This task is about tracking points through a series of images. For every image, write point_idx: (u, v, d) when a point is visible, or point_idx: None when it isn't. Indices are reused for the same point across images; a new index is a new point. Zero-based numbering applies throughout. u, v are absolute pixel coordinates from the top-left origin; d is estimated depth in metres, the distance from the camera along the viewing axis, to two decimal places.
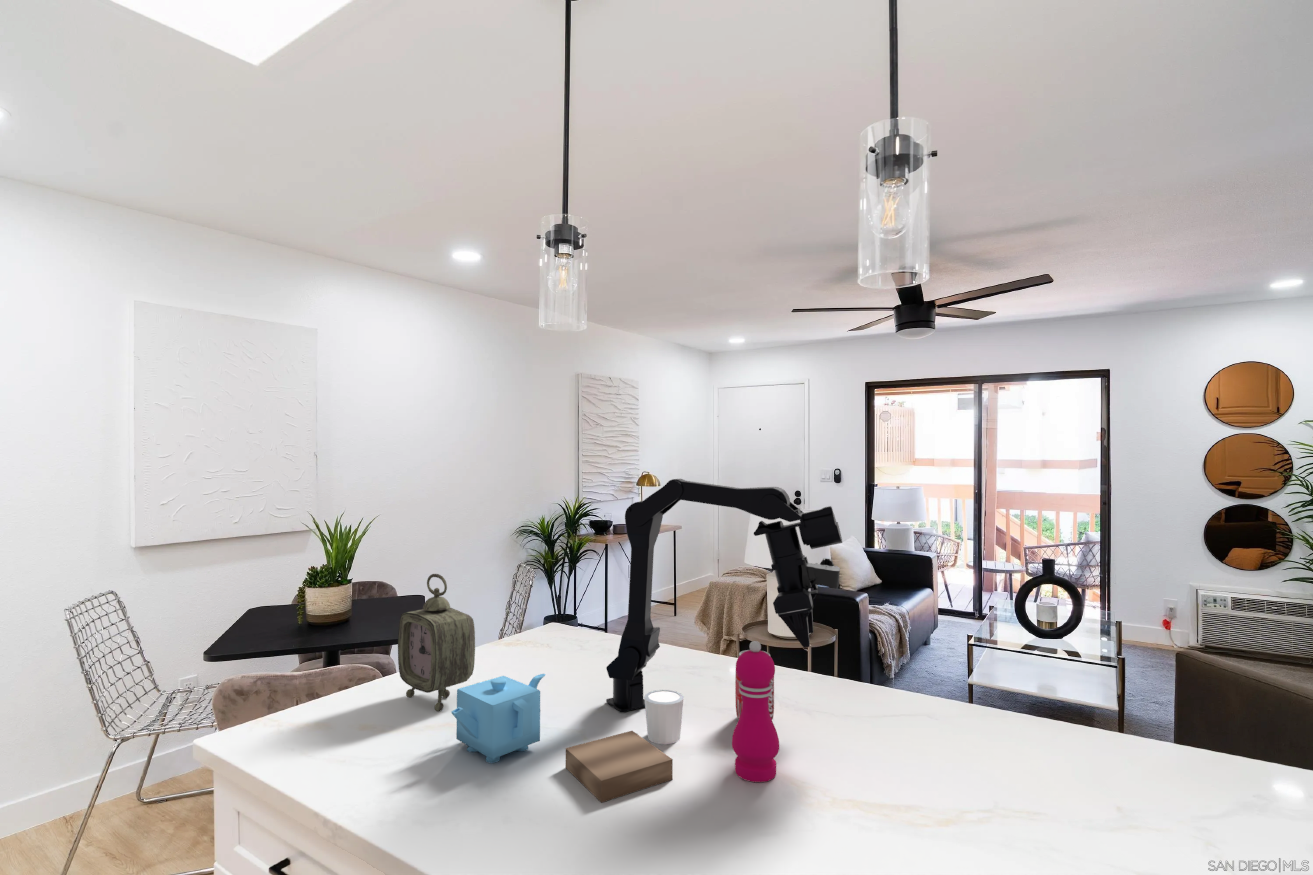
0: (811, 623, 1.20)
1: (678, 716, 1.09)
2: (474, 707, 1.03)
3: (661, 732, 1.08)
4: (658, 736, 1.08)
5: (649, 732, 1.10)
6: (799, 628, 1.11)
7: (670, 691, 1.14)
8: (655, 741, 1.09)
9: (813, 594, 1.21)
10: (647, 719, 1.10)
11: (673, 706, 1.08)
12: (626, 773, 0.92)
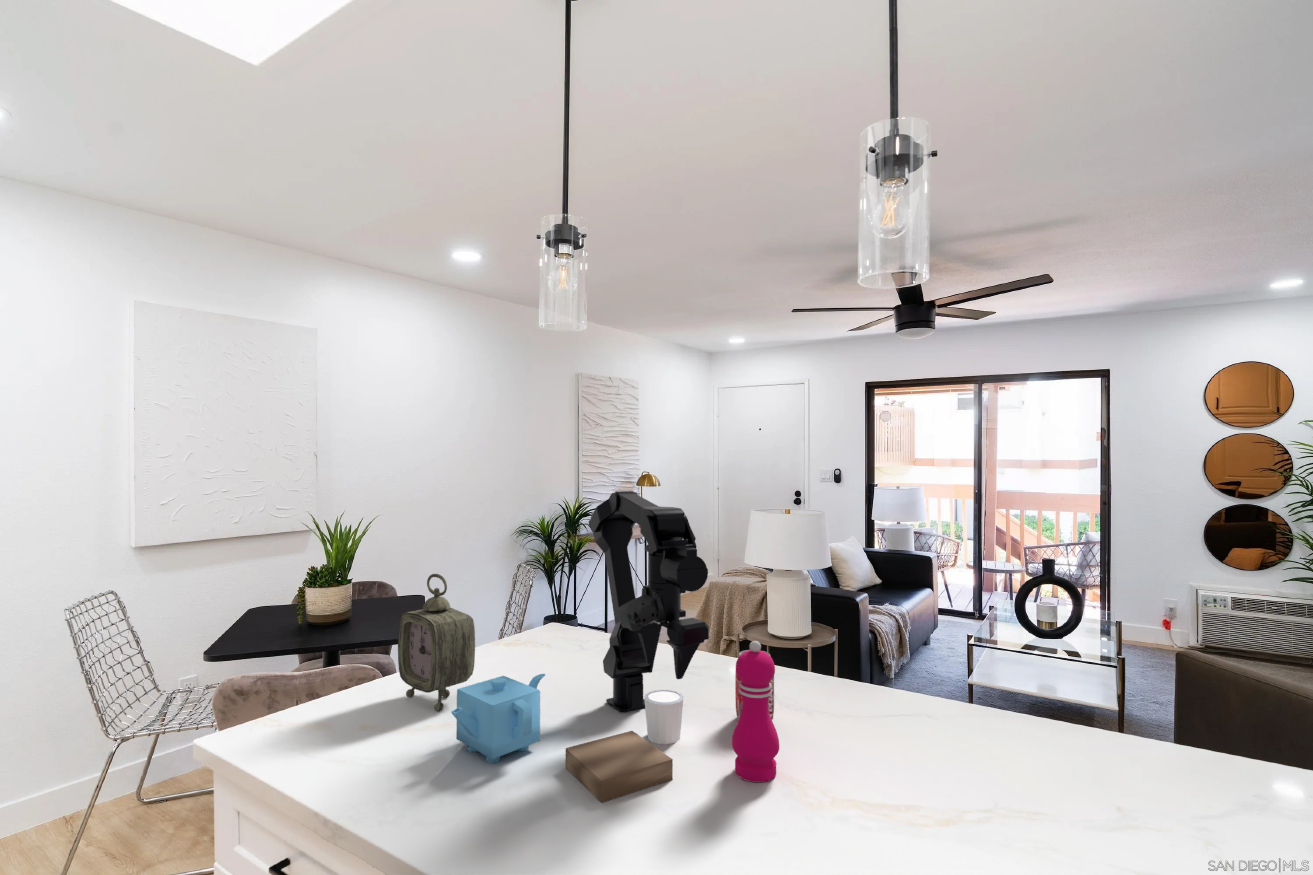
0: None
1: (678, 716, 1.09)
2: (474, 707, 1.03)
3: (661, 732, 1.08)
4: (658, 736, 1.08)
5: (649, 732, 1.10)
6: None
7: (670, 691, 1.14)
8: (655, 741, 1.09)
9: None
10: (647, 719, 1.10)
11: (673, 706, 1.08)
12: (626, 773, 0.92)
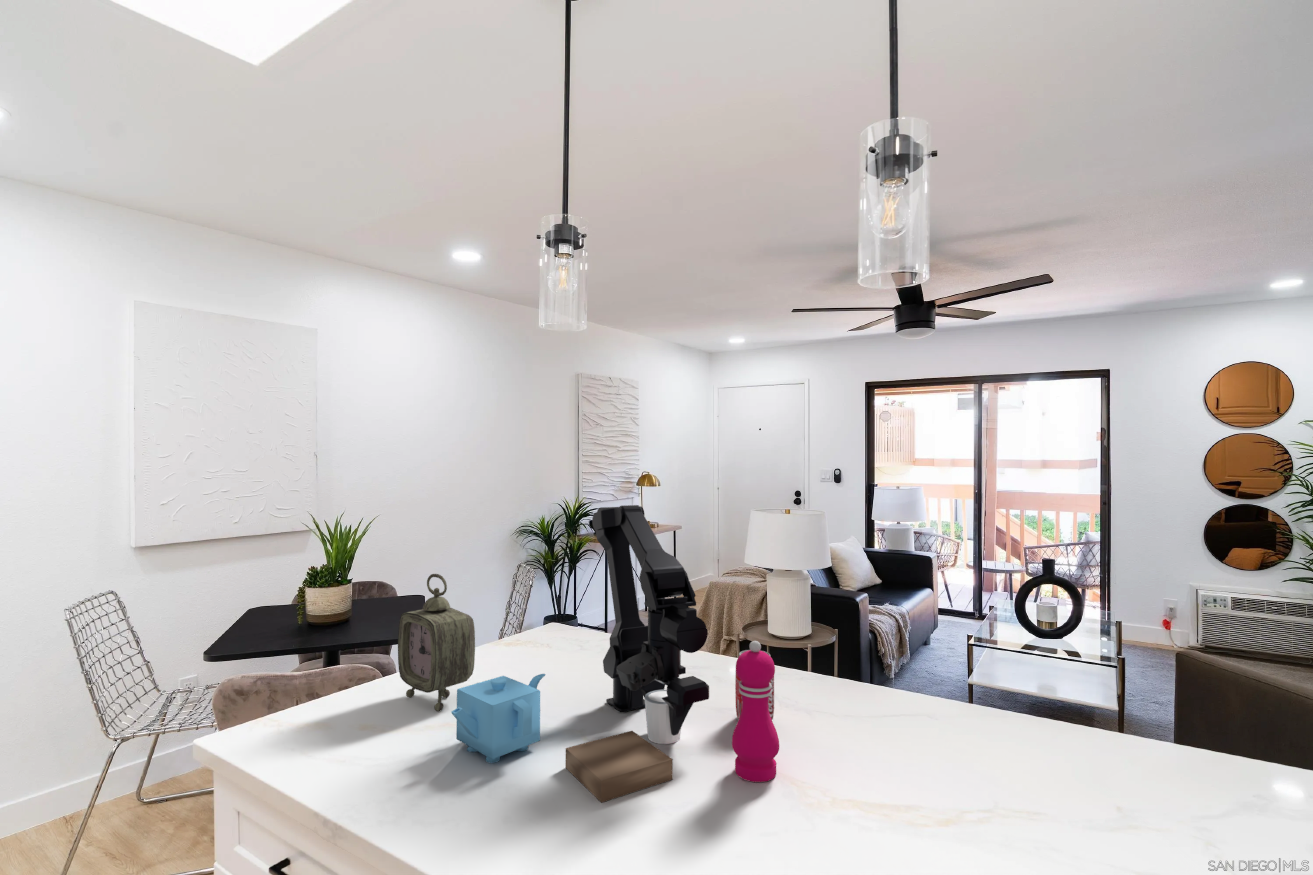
0: None
1: None
2: (474, 707, 1.03)
3: (661, 732, 1.08)
4: (658, 736, 1.08)
5: (649, 732, 1.10)
6: None
7: None
8: (655, 741, 1.09)
9: None
10: (647, 719, 1.10)
11: None
12: (626, 773, 0.92)
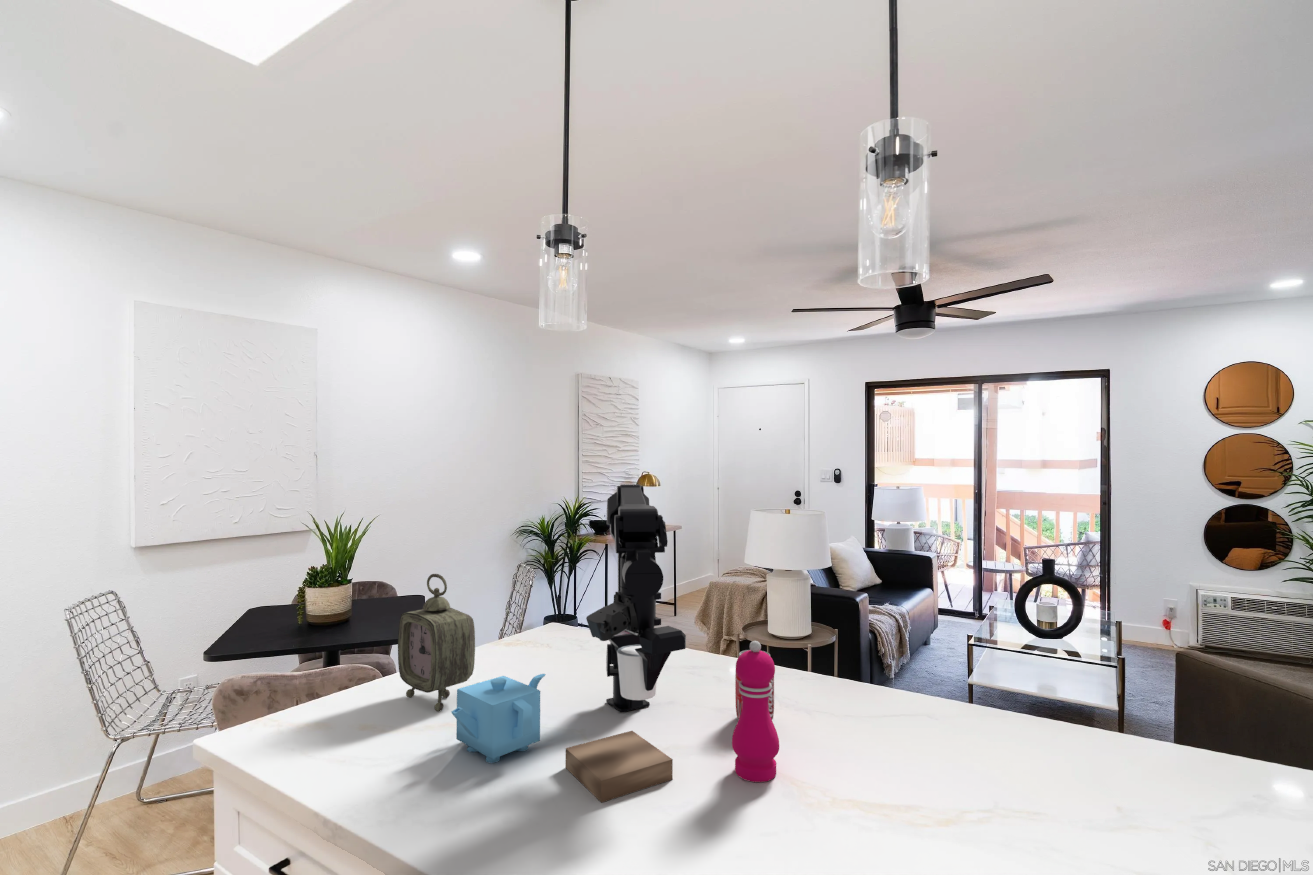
0: None
1: None
2: (474, 707, 1.03)
3: (635, 687, 1.00)
4: (631, 691, 1.00)
5: (622, 688, 1.01)
6: None
7: None
8: (628, 697, 1.01)
9: None
10: (620, 674, 1.02)
11: None
12: (626, 773, 0.92)
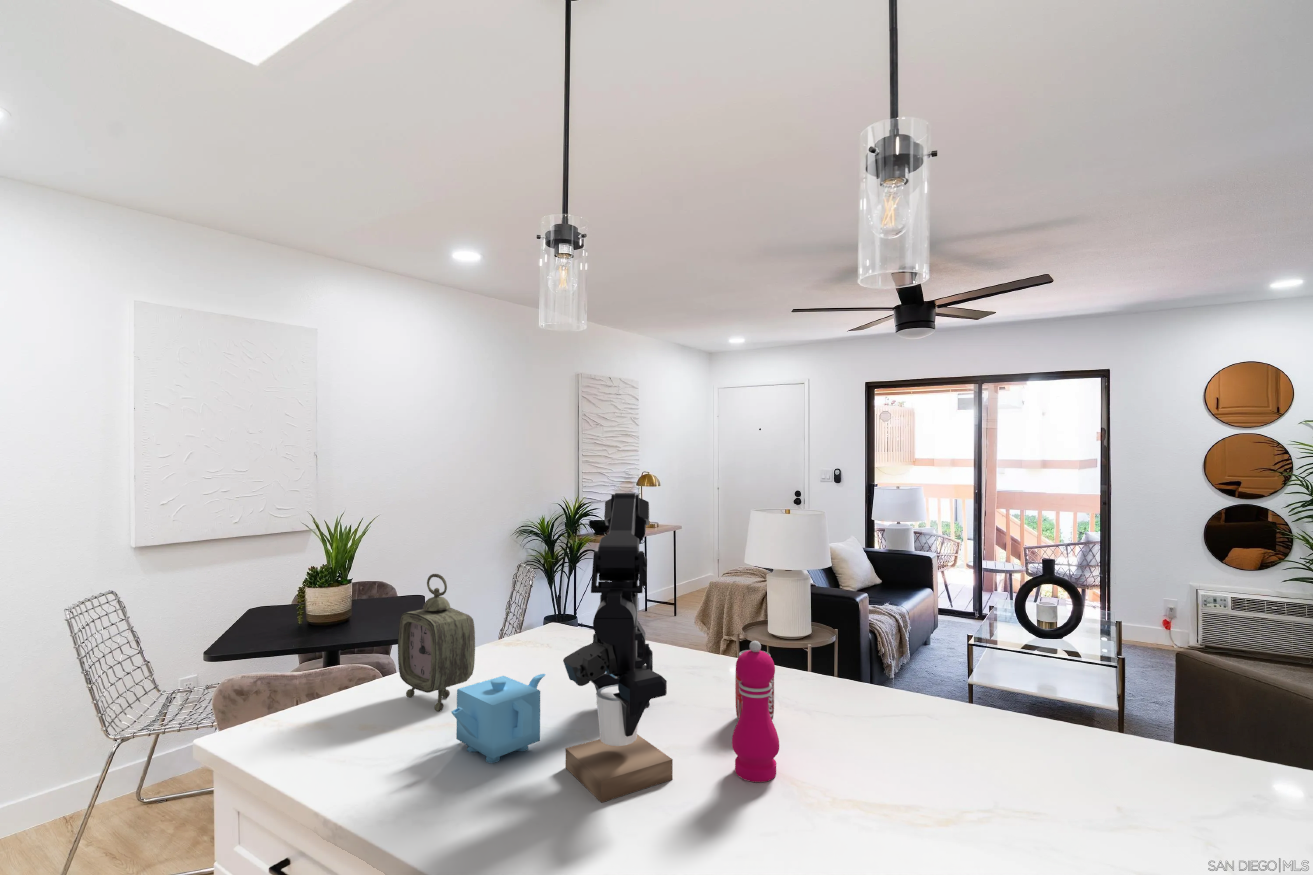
0: None
1: None
2: (474, 707, 1.03)
3: (614, 732, 0.96)
4: (610, 737, 0.96)
5: (601, 732, 0.97)
6: None
7: None
8: (607, 742, 0.96)
9: None
10: (599, 717, 0.97)
11: None
12: (626, 773, 0.92)
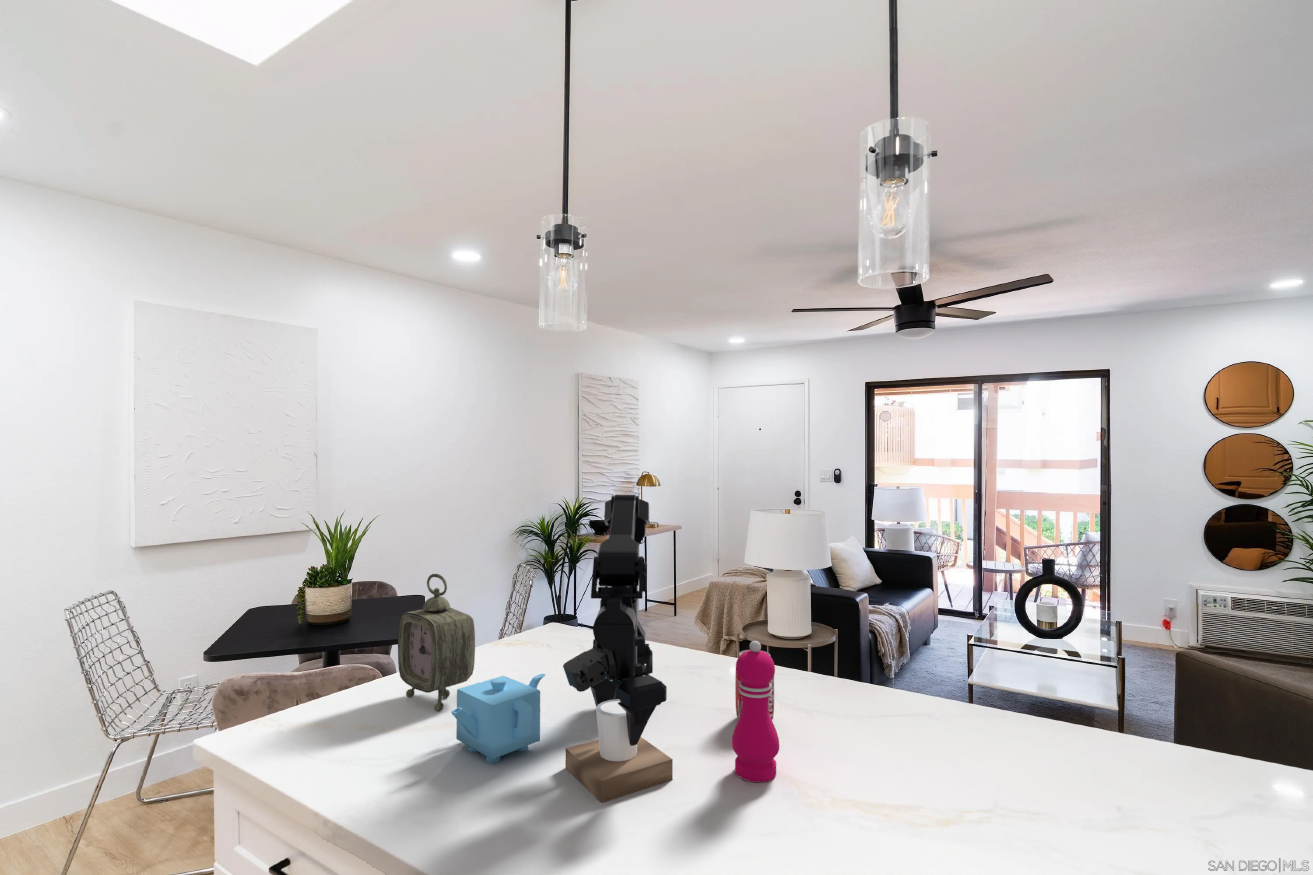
0: None
1: None
2: (474, 707, 1.03)
3: (613, 748, 0.96)
4: (610, 752, 0.96)
5: (601, 747, 0.97)
6: None
7: None
8: (607, 758, 0.96)
9: None
10: (599, 733, 0.97)
11: (626, 719, 0.96)
12: (626, 773, 0.92)
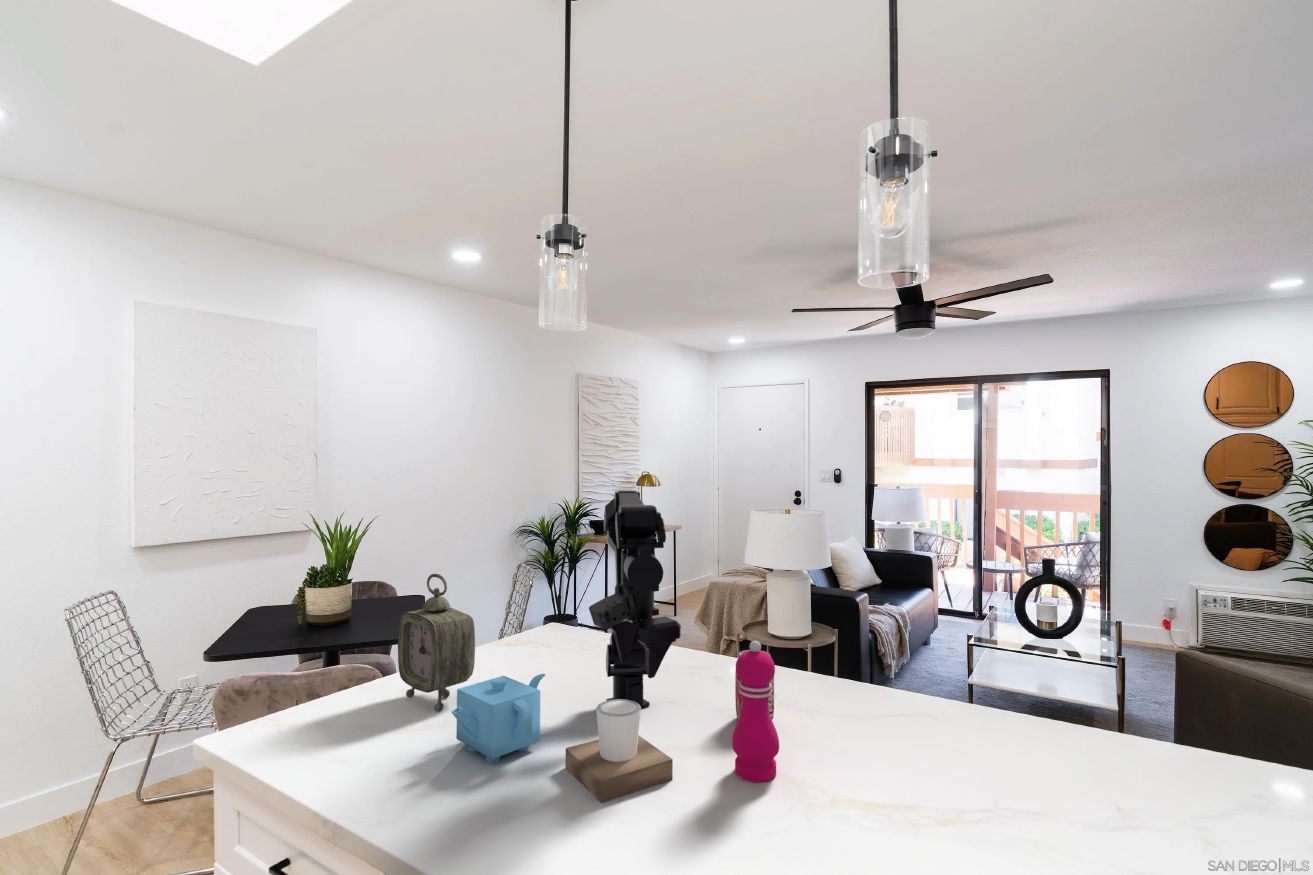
0: None
1: (633, 730, 0.96)
2: (474, 706, 1.03)
3: (613, 748, 0.95)
4: (610, 752, 0.96)
5: (601, 747, 0.97)
6: None
7: (627, 701, 1.01)
8: (607, 758, 0.96)
9: None
10: (599, 733, 0.97)
11: (627, 719, 0.95)
12: (626, 773, 0.92)
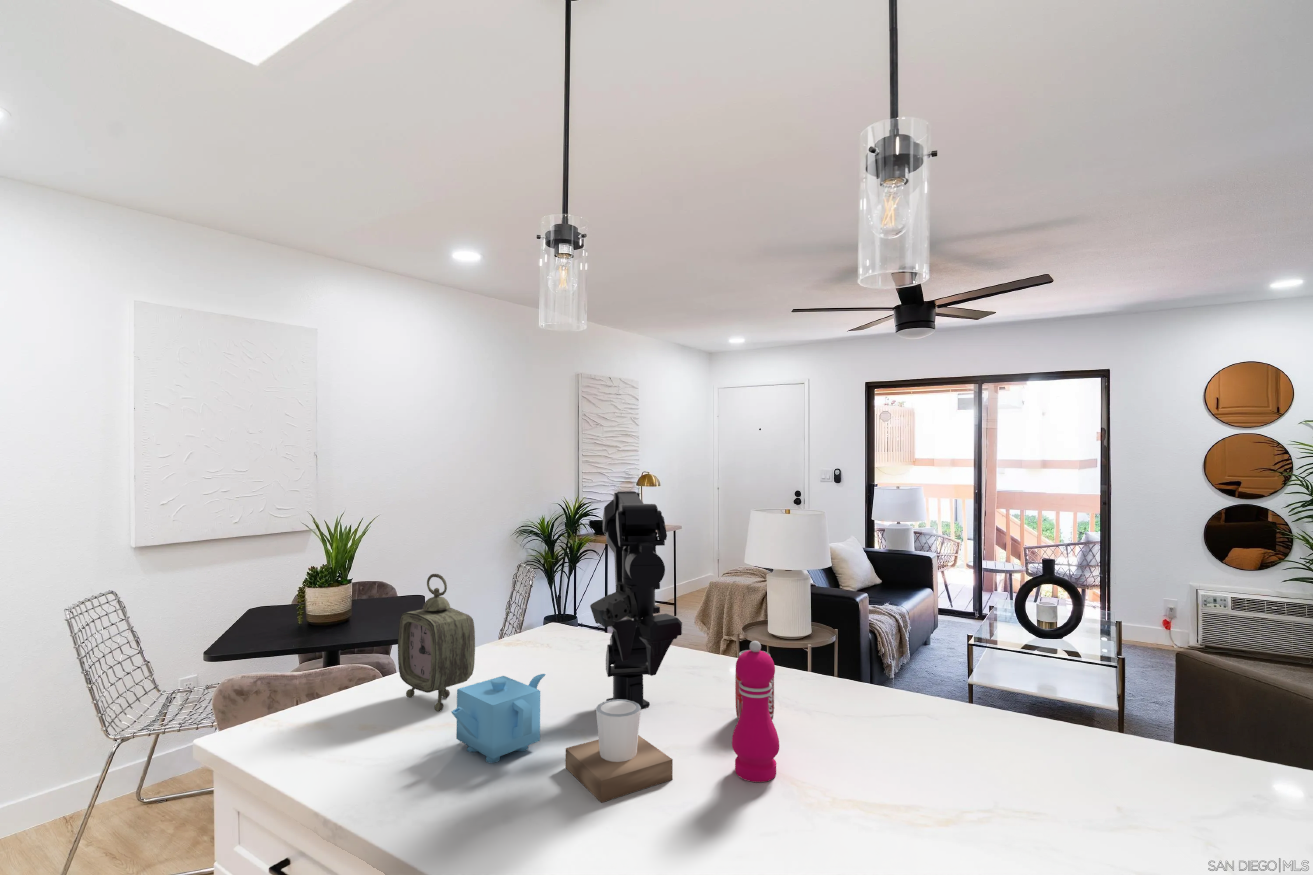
0: None
1: (633, 730, 0.96)
2: (474, 707, 1.03)
3: (613, 748, 0.95)
4: (610, 752, 0.96)
5: (601, 748, 0.97)
6: None
7: (626, 701, 1.01)
8: (607, 758, 0.96)
9: None
10: (599, 733, 0.97)
11: (626, 719, 0.95)
12: (626, 773, 0.92)
